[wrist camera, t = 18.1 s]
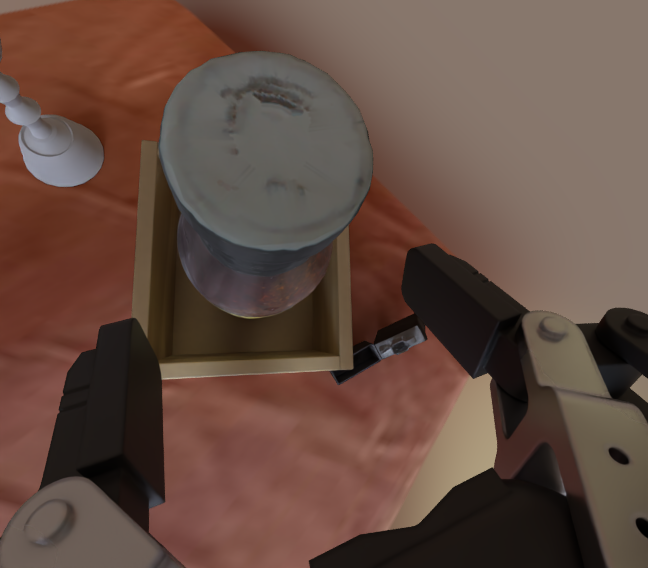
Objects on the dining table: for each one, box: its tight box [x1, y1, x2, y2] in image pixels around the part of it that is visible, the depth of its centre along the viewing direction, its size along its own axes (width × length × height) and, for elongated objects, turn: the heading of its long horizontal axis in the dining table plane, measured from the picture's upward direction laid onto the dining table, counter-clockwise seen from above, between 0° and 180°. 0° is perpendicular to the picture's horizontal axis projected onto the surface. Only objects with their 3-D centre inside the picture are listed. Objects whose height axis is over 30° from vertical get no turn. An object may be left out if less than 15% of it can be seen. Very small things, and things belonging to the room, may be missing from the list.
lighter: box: [330, 313, 427, 385], centre depth 26 cm, size 8×2×5 cm
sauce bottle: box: [158, 51, 373, 319], centre depth 16 cm, size 6×6×20 cm
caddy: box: [131, 140, 353, 379], centre depth 22 cm, size 12×13×8 cm
